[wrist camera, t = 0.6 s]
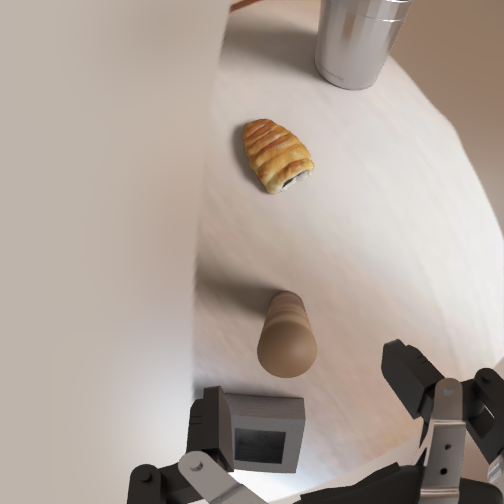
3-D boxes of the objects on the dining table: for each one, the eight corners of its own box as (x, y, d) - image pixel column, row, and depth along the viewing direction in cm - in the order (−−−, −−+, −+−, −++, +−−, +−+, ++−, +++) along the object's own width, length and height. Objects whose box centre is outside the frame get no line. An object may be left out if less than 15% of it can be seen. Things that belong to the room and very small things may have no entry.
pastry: (230, 141, 32) (223, 128, 28) (274, 114, 31) (273, 99, 27) (272, 201, 31) (271, 194, 28) (319, 171, 31) (323, 160, 27)
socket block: (226, 393, 32) (217, 412, 27) (303, 398, 31) (305, 419, 26) (226, 445, 32) (219, 466, 27) (295, 451, 31) (295, 473, 26)
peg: (286, 284, 31) (287, 311, 17) (310, 307, 31) (329, 350, 17) (262, 308, 31) (244, 351, 17) (286, 331, 31) (286, 387, 17)
